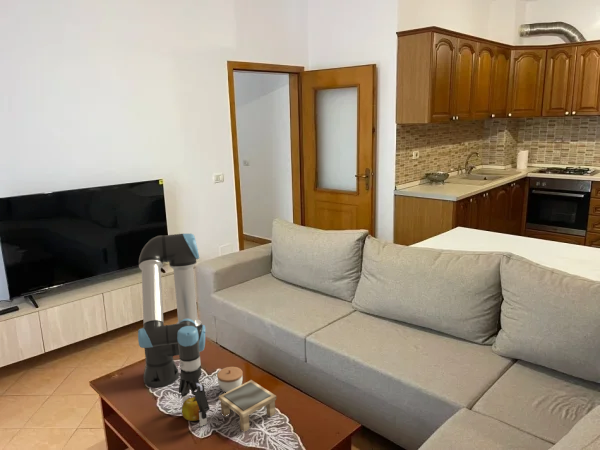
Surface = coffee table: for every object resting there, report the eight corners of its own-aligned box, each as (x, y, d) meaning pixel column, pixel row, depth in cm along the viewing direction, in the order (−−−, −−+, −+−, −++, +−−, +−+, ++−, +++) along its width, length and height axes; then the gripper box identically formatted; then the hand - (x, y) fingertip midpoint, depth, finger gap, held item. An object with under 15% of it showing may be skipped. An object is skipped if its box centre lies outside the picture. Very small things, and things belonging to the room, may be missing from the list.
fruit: (206, 408, 184) (204, 390, 182) (209, 422, 176) (207, 403, 174) (181, 413, 181) (179, 395, 180) (183, 428, 173) (181, 409, 171)
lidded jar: (238, 397, 191) (237, 377, 189) (214, 395, 193) (212, 375, 191) (246, 383, 201) (245, 364, 199) (223, 381, 203) (222, 362, 201)
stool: (219, 414, 180) (218, 395, 178) (252, 397, 191) (251, 379, 189) (244, 433, 169) (242, 413, 167) (277, 414, 180) (276, 395, 178)
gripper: (166, 359, 180) (171, 408, 185) (198, 383, 163) (203, 436, 168) (183, 352, 185) (188, 400, 190) (216, 375, 168) (220, 427, 172)
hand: (195, 417), depth 179 cm, fingers open, 12 cm apart
